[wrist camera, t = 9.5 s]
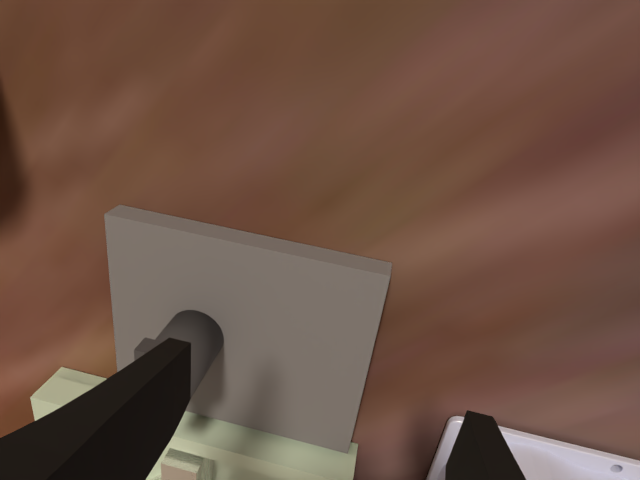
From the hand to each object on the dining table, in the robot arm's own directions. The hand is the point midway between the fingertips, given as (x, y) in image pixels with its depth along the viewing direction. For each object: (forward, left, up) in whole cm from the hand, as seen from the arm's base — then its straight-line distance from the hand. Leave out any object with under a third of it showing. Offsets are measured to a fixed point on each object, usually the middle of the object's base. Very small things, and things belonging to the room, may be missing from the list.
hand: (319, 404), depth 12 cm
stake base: (+5, +6, -9) cm, 12 cm away
